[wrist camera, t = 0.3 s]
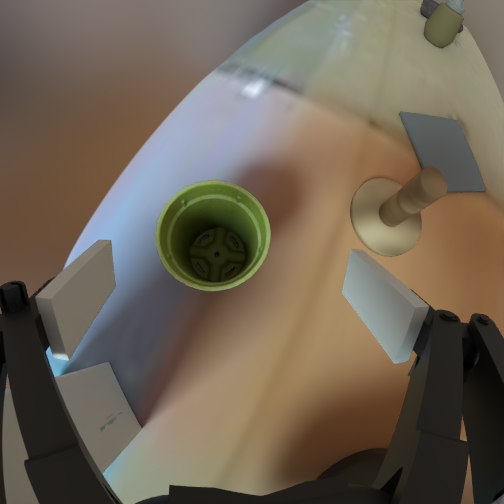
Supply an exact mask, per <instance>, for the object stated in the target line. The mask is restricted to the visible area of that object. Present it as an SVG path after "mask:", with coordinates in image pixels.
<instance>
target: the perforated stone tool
mask: <svg viewBox="0 0 504 504" xmlns="http://www.w3.org/2000/svg"><path fill="white" fill-rule="evenodd" d="M421 5H422V6H421V9H420V10H421V14H423V15H424V16H425V17H427V18H428V19H429V17H430V16H431V15H432V14H433V12H434V11H435V10H436V8H437V7H438V6H439V4H438V3H436V2H435V1H433V0H423V4H421ZM462 30H463V25H462V24H461V26H460V28H459V30H458V32H457V33H460V32H462Z"/></svg>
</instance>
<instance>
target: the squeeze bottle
mask: <svg viewBox="0 0 504 504" xmlns="http://www.w3.org/2000/svg"><path fill="white" fill-rule="evenodd" d="M463 1H464V0H447V1H446V3H440V5H439V6H438V7H437V8H436V10H435V11H434V12H433V14H432V15H431V16H430V17H429V19H428V20H427V21H426V23H425V31H424V36H425V37H426V38H427V39H428V40H429V41H430V42H431V43H432V44H434V45H436V46H437V47H440V48H443V47H445V46H447V45H448V44H450V43H452V42H453V40H454V38H455V36H456V34H457V32H458V30H459V28H460V26H461V24H462V22H463V20H464V18H463V16H462V15H461V14H463V13H464V11H465V9H464V8H463V7H462V4H463Z"/></svg>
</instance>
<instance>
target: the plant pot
mask: <svg viewBox="0 0 504 504" xmlns="http://www.w3.org/2000/svg"><path fill="white" fill-rule="evenodd" d="M205 235H209V237H208V238H206V239H204V240H203V241H202V242H201V243H199V241H200V239H201V238H203V237H204V236H205ZM230 237H232V238H234V239H235V240H236V242H237V243H238V247H236V246H235V245H234V243H233V242H232V241H231V240H230ZM270 238H271V230H270V223H269V220H268V217H267V214H266V212H265V210H264V208H263V207H262V205H261V204H260V203H259V201H258V200H257V199H256V198H255V197H254V196H253V195H252V194H251V193H249V192H248V191H247V190H245V189H244V188H242V187H240V186H238V185H235V184H233V183H230V182H225V181H219V180H208V181H201V182H197V183H194V184H191V185H189V186H187V187H185V188H183V189H182V190H180V191H179V192H178V193H176V194H175V195H174V196H173V197H172V198H171V199H170V200H169V201H168V203H167V204H166V205H165V207H164V209H163V210H162V212H161V214H160V217H159V219H158V223H157V228H156V247H157V251H158V254H159V257H160V259H161V261H162V263H163V265H164V266H165V268H166V269H167V270H168V271H169V272H170V274H171V275H172V276H174V277H175V278H176V279H177V280H179V281H180V282H182V283H183V284H185V285H187V286H190V287H192V288H195V289H199V290H204V291H220V290H226V289H229V288H232V287H235V286H237V285H239V284H241V283H243V282H244V281H246V280H247V279H249V278H250V277H251V276H252V275H253V274H254V273H255V272H256V271H257V270H258V269H259V267H260V266H261V265H262V263H263V261H264V260H265V258H266V255H267V253H268V249H269V245H270ZM216 252H219V256H218V257H216V256H215V253H216ZM196 263H199V265H200V266H201V268H202V269H203V270H204V271H205V273H203V272H201V271H200V270H199V269H198V268H197V266H196ZM233 267H236V270H234V271H233V272H232V273H231V274H230V275H228V276H226V275H225V274H226V273H227V272H229V271H230V270H231V269H233Z"/></svg>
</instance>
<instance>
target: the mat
mask: <svg viewBox="0 0 504 504" xmlns="http://www.w3.org/2000/svg"><path fill="white" fill-rule="evenodd" d="M399 115H400V117H401V119H402V122H403V124H404V126H405V128H406V131H407V133H408V135H409V138H410V140H411V142H412V145H413V147H414V150H415V152H416V155H417V157H418V160H419V163H420V165H421V168H422V170H423V169H424V168H426V167H428V166H432V167H435V168H436V169H438V170H439V171H440V172H441V173H442V174H443V176H444V177H445V179H446V182H447V192H485V191H486V187H485V185H484V182H483V179H482V176H481V174H480V171H479V168H478V166H477V163H476V161H475V158H474V156H473V154H472V151H471V149H470V147H469V144H468V142H467V140H466V138H465V136H464V134H463V131H462V129H461V127H460V125H459V123H458V121H457V120H452V119H447V118H441V117H436V116H429V115H423V114H416V113H408V112H400V113H399Z"/></svg>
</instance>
